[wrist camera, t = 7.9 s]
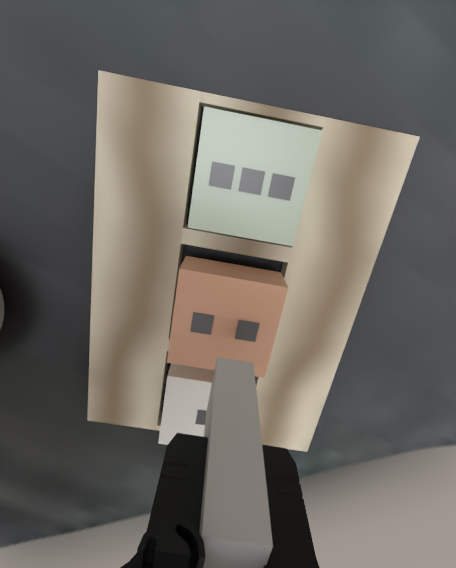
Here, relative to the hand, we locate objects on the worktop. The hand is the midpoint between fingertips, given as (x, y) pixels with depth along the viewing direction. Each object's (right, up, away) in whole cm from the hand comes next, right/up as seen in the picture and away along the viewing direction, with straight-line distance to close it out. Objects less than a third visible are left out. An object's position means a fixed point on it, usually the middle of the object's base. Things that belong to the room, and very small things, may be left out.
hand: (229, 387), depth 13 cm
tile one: (-2, -4, +11) cm, 12 cm away
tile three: (+1, +11, +6) cm, 12 cm away
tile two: (0, +3, +7) cm, 8 cm away
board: (0, +4, +10) cm, 10 cm away
